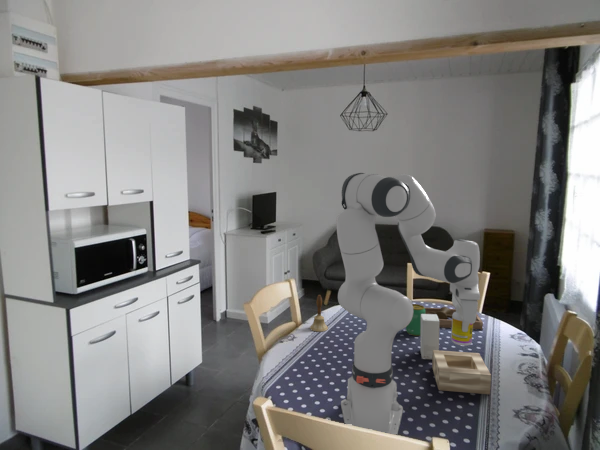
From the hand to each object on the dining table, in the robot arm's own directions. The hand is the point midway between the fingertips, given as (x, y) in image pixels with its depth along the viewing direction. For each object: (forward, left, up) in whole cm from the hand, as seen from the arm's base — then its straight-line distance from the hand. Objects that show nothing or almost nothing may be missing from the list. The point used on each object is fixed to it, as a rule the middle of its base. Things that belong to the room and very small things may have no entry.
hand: (461, 326), depth 141 cm
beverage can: (+40, +11, -20) cm, 46 cm away
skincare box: (+18, +8, -20) cm, 28 cm away
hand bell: (+38, +54, -20) cm, 69 cm away
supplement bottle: (0, 0, -6) cm, 6 cm away
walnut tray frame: (+56, -6, -20) cm, 60 cm away
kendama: (+56, -7, -20) cm, 60 cm away
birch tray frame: (0, 0, -20) cm, 20 cm away
